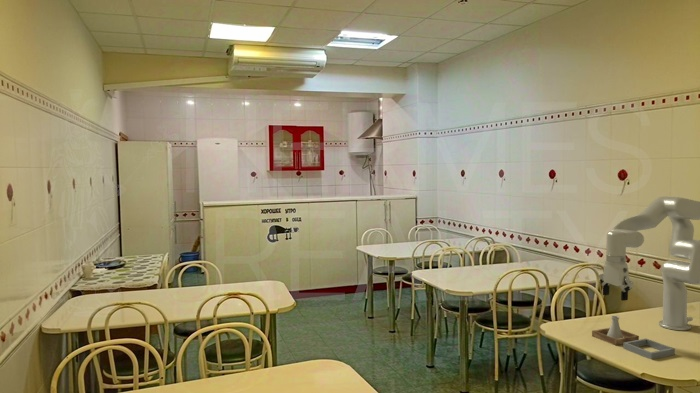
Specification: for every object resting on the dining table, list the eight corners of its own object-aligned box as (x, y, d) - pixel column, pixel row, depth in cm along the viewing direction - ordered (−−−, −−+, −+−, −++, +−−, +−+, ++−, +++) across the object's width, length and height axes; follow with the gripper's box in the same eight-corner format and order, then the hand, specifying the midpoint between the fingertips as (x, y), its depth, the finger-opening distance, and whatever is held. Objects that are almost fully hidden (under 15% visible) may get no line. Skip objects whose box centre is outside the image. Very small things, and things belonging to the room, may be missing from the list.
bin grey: (645, 344, 213) (646, 338, 213) (674, 354, 201) (674, 348, 201) (623, 348, 209) (623, 342, 208) (651, 359, 196) (651, 353, 196)
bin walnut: (613, 332, 228) (613, 327, 228) (638, 341, 216) (638, 335, 216) (592, 336, 224) (592, 330, 224) (616, 345, 212) (616, 339, 212)
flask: (626, 342, 216) (627, 319, 215) (608, 341, 217) (609, 319, 217) (621, 336, 223) (621, 314, 222) (603, 335, 224) (604, 314, 224)
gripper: (639, 262, 211) (638, 301, 212) (606, 255, 227) (605, 292, 228) (626, 263, 209) (625, 303, 209) (593, 256, 225) (592, 293, 226)
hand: (614, 297), depth 219 cm, fingers open, 9 cm apart
